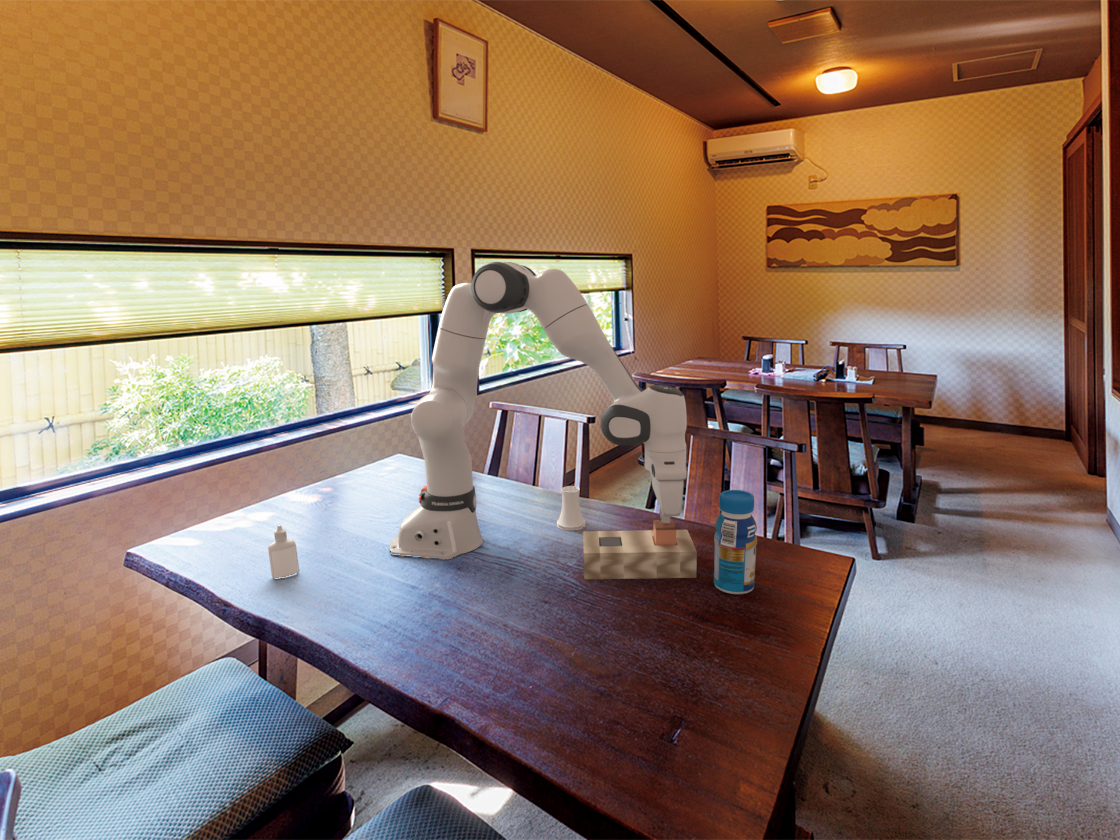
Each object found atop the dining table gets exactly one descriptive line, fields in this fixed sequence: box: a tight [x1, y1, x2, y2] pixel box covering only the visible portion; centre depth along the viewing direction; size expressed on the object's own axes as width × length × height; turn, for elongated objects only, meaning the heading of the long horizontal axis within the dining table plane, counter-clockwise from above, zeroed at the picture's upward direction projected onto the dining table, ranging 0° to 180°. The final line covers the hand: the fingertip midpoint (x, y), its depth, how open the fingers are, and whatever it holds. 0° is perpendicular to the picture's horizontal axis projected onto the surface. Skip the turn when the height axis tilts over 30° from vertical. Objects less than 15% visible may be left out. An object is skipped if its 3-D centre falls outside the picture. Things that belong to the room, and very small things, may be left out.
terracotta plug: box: [653, 519, 677, 545], centre depth 140 cm, size 4×4×6 cm
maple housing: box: [582, 529, 698, 580], centre depth 141 cm, size 24×12×6 cm, turn 88°
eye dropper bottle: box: [267, 524, 300, 579], centre depth 141 cm, size 4×6×12 cm
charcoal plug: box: [600, 537, 621, 546], centre depth 141 cm, size 4×4×6 cm
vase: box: [556, 485, 587, 531], centre depth 165 cm, size 8×8×10 cm
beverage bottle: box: [713, 489, 758, 595], centre depth 129 cm, size 8×8×20 cm
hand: (665, 520), depth 139 cm, fingers closed
